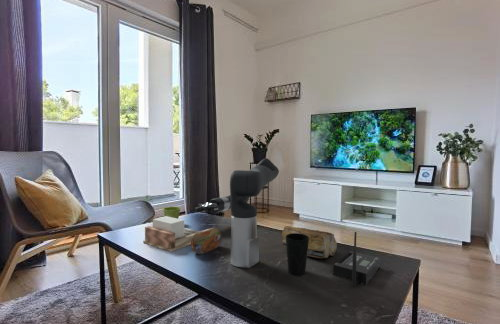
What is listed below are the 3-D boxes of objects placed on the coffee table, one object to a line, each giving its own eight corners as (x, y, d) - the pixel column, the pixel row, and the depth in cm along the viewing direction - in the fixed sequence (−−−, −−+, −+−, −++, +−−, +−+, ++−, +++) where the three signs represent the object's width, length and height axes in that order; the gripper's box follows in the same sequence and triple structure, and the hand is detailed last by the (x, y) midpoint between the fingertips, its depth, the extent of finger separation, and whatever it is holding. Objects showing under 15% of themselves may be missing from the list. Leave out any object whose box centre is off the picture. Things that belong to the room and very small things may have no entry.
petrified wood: (278, 250, 112) (280, 225, 113) (293, 248, 122) (295, 225, 124) (324, 261, 100) (326, 233, 102) (337, 258, 110) (338, 232, 112)
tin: (194, 257, 106) (194, 235, 105) (189, 255, 107) (189, 233, 107) (222, 246, 117) (222, 226, 117) (216, 244, 119) (216, 225, 119)
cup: (303, 279, 88) (303, 242, 88) (281, 273, 92) (281, 237, 92) (311, 270, 95) (312, 235, 94) (290, 265, 99) (291, 231, 98)
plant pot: (162, 222, 153) (162, 206, 152) (180, 221, 155) (180, 206, 155) (162, 227, 144) (162, 210, 143) (181, 226, 146) (181, 209, 146)
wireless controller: (345, 259, 105) (346, 214, 104) (385, 270, 97) (387, 221, 96) (322, 278, 90) (324, 226, 89) (368, 293, 81) (370, 235, 80)
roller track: (207, 238, 128) (207, 223, 127) (171, 251, 110) (171, 234, 110) (180, 231, 138) (180, 217, 137) (143, 242, 120) (143, 227, 120)
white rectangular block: (184, 236, 120) (184, 220, 119) (171, 240, 114) (171, 223, 114) (165, 231, 126) (165, 216, 126) (152, 235, 121) (152, 219, 120)
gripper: (210, 196, 151) (186, 200, 136) (229, 198, 143) (206, 204, 129) (210, 210, 151) (186, 216, 137) (229, 213, 144) (206, 220, 129)
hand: (195, 210), depth 133 cm, fingers closed
